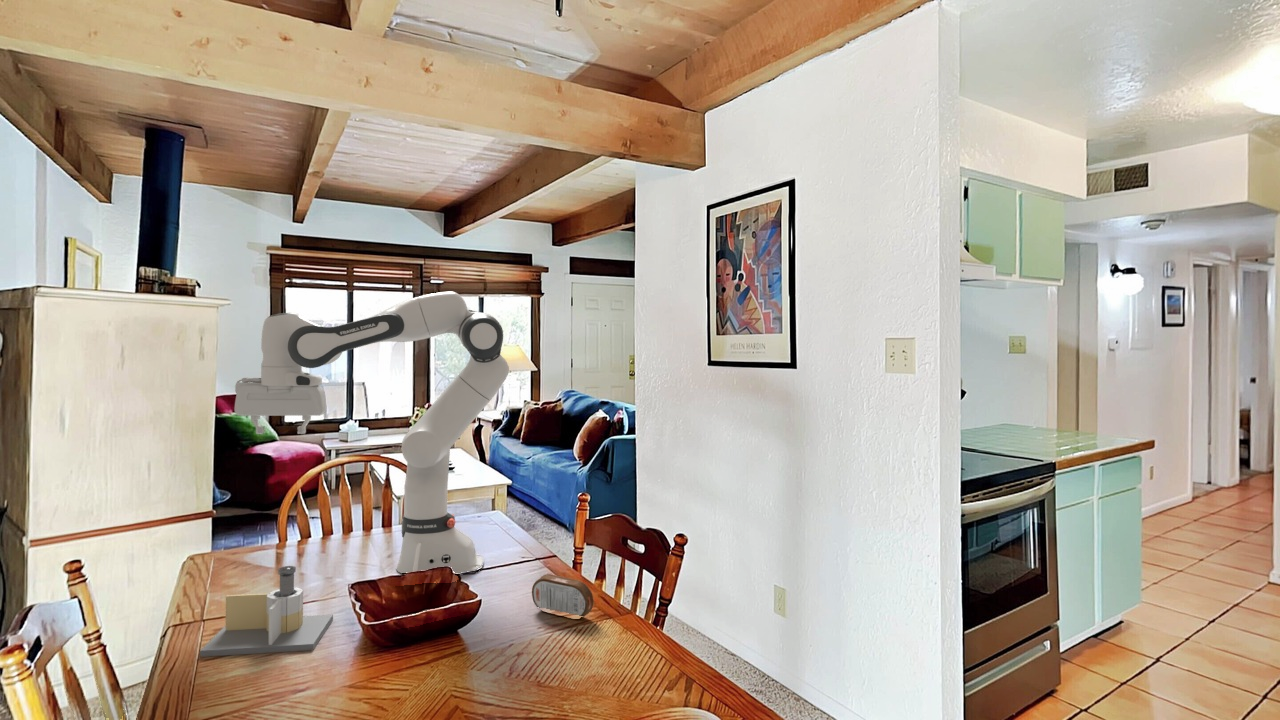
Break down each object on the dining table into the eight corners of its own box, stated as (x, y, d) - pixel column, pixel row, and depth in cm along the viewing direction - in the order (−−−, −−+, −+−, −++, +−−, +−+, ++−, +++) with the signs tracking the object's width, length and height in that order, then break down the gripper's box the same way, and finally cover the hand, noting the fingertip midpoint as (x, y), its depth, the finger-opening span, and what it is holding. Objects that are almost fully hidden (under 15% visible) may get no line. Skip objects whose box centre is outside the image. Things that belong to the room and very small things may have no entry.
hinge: (332, 620, 141) (333, 582, 141) (313, 650, 127) (313, 608, 127) (231, 625, 137) (231, 586, 137) (199, 657, 123) (200, 614, 123)
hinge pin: (297, 622, 137) (297, 565, 136) (292, 628, 134) (292, 570, 133) (280, 623, 136) (281, 566, 136) (275, 629, 133) (275, 571, 133)
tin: (593, 619, 145) (594, 581, 144) (586, 624, 142) (587, 586, 142) (537, 606, 151) (537, 570, 151) (529, 611, 148) (529, 574, 148)
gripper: (230, 378, 156) (229, 435, 157) (321, 379, 160) (320, 435, 161) (240, 377, 163) (240, 432, 163) (328, 377, 167) (328, 431, 167)
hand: (281, 433), depth 162 cm, fingers open, 8 cm apart
